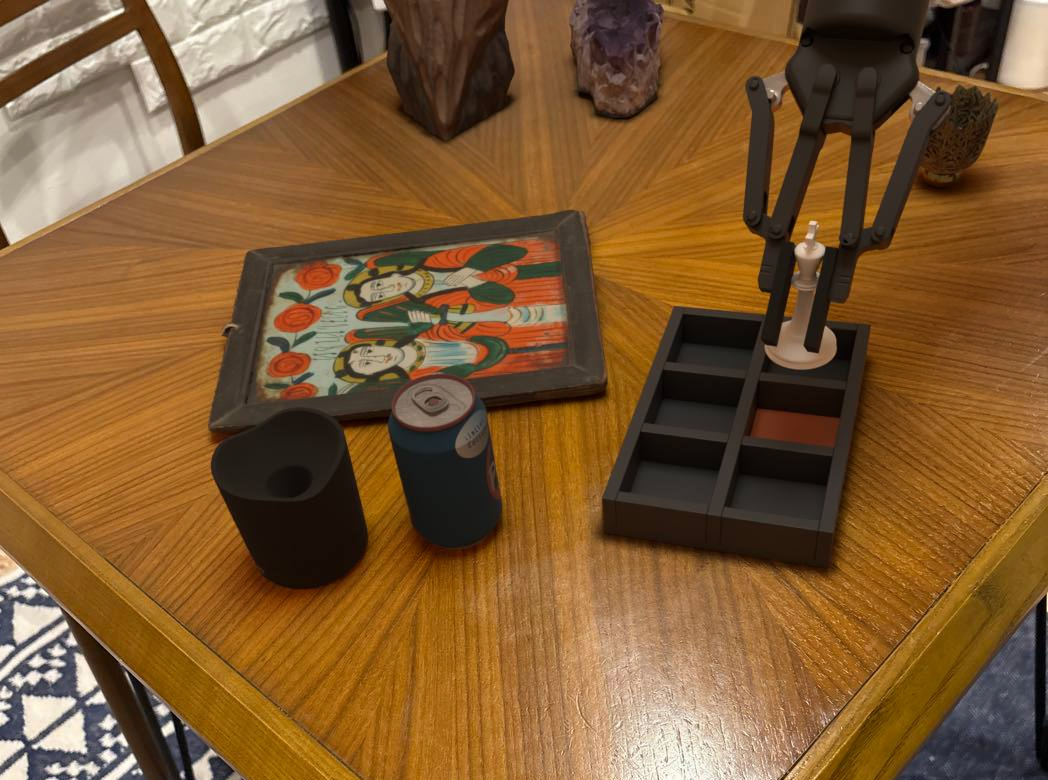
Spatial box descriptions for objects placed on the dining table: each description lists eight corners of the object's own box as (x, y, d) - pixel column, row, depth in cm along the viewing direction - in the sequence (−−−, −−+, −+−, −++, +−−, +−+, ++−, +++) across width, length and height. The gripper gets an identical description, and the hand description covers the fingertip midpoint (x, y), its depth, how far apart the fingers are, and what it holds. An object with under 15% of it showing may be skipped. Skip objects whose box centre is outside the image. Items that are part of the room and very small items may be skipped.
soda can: (522, 525, 82) (503, 401, 74) (445, 571, 80) (417, 448, 71) (471, 477, 87) (447, 354, 78) (396, 519, 84) (363, 398, 76)
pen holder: (268, 505, 87) (231, 408, 80) (384, 504, 86) (357, 405, 78) (237, 596, 81) (193, 500, 73) (361, 597, 79) (329, 499, 72)
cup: (977, 160, 110) (994, 82, 104) (986, 200, 105) (1004, 119, 99) (899, 162, 111) (911, 84, 105) (903, 200, 106) (916, 121, 100)
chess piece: (755, 362, 77) (764, 237, 70) (776, 322, 80) (785, 198, 73) (826, 375, 76) (842, 249, 68) (844, 333, 79) (861, 208, 71)
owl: (390, 106, 133) (355, -74, 118) (479, 71, 136) (456, -107, 122) (441, 143, 125) (410, -45, 110) (535, 105, 129) (516, -81, 114)
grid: (865, 359, 91) (871, 323, 88) (828, 568, 76) (833, 533, 74) (674, 339, 95) (674, 305, 93) (604, 533, 81) (601, 498, 78)
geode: (687, 112, 123) (675, 25, 116) (585, 138, 125) (567, 53, 118) (663, 31, 137) (651, -52, 129) (572, 55, 139) (555, -26, 131)
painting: (622, 402, 92) (621, 379, 90) (209, 454, 93) (200, 433, 91) (584, 218, 110) (583, 196, 108) (241, 264, 112) (234, 243, 110)
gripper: (993, 17, 72) (908, 372, 74) (763, 4, 77) (690, 337, 80) (1000, -37, 65) (906, 357, 67) (746, -47, 70) (667, 319, 73)
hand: (790, 345), depth 73 cm, fingers closed on chess piece, 2 cm apart
